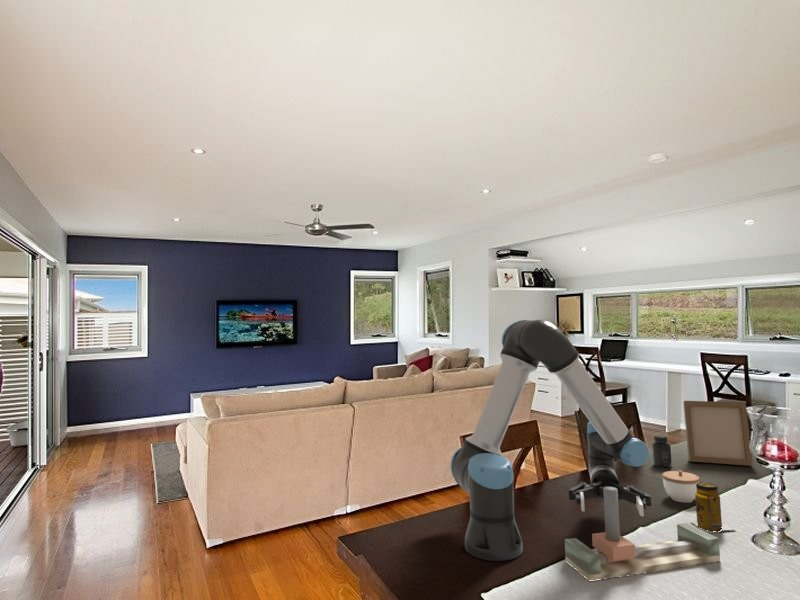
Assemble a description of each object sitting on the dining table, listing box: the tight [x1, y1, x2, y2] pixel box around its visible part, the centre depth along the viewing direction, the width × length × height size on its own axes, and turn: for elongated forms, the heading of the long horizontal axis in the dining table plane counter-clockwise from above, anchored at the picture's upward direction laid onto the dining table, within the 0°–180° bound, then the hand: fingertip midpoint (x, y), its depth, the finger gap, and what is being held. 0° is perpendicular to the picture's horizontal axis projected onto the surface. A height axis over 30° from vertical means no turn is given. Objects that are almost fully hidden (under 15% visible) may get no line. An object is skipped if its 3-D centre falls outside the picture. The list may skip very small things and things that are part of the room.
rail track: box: [564, 522, 721, 581], centre depth 121 cm, size 36×10×6 cm, turn 103°
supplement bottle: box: [651, 434, 673, 469], centre depth 200 cm, size 7×7×12 cm
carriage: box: [591, 487, 636, 562], centre depth 120 cm, size 6×8×16 cm
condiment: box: [695, 481, 737, 534], centre depth 140 cm, size 7×8×12 cm
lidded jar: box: [661, 469, 700, 504], centre depth 162 cm, size 11×11×9 cm
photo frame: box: [683, 400, 754, 467], centre depth 206 cm, size 15×22×25 cm
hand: (611, 508), depth 122 cm, fingers open, 13 cm apart
